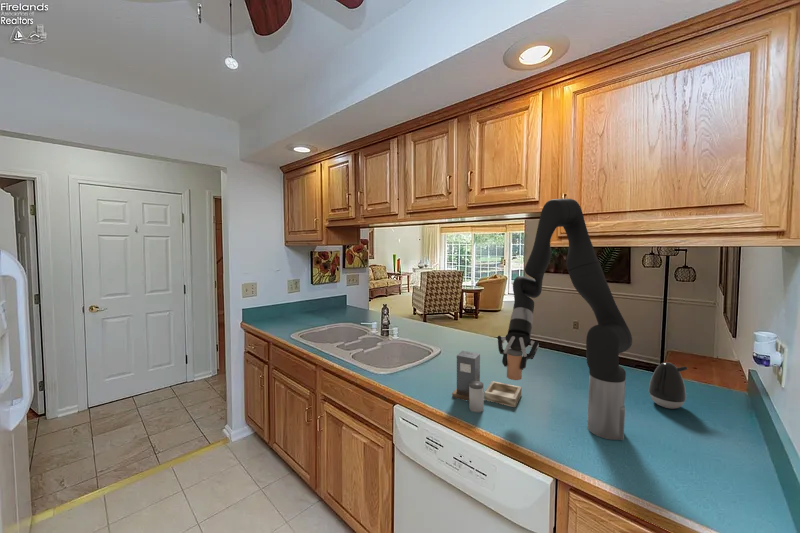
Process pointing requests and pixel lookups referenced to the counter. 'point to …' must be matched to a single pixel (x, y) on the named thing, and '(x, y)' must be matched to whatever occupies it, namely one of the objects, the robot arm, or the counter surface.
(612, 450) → the counter surface
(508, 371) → the cylinder
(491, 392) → the tray
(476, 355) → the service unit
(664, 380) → the pump dispenser
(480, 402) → the cylinder
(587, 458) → the counter surface
